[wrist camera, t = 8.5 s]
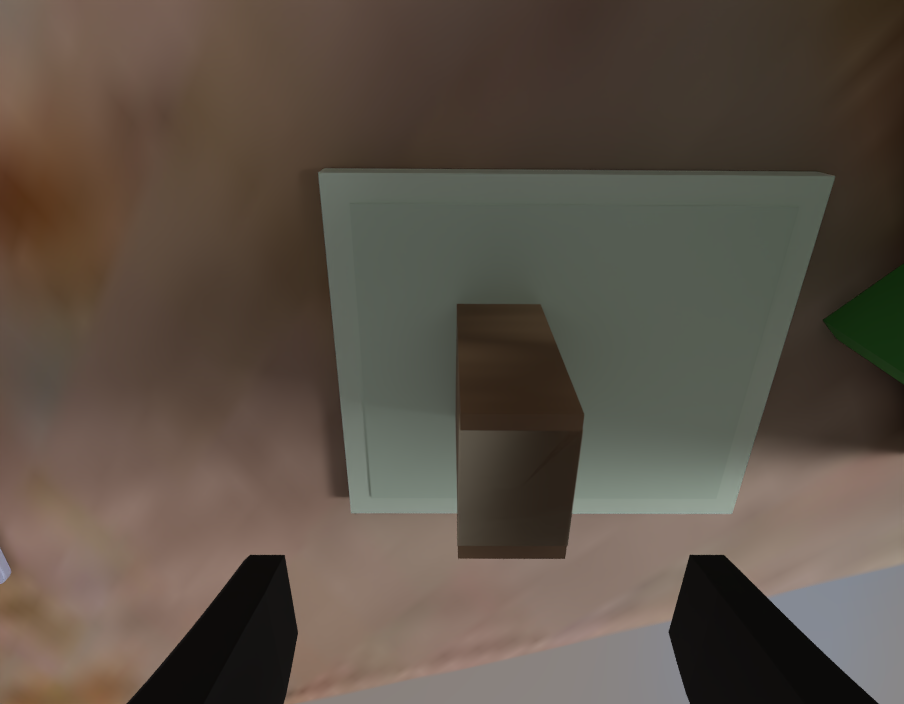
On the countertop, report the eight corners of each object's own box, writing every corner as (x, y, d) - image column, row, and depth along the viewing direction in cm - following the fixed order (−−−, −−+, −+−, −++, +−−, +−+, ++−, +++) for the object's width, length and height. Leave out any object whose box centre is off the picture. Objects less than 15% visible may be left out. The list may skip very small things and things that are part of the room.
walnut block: (455, 416, 18) (457, 558, 13) (456, 303, 17) (459, 413, 11) (531, 416, 18) (565, 558, 13) (541, 304, 17) (585, 414, 11)
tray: (354, 498, 21) (350, 515, 20) (324, 167, 16) (317, 173, 15) (722, 499, 21) (733, 515, 20) (817, 171, 16) (837, 176, 15)
